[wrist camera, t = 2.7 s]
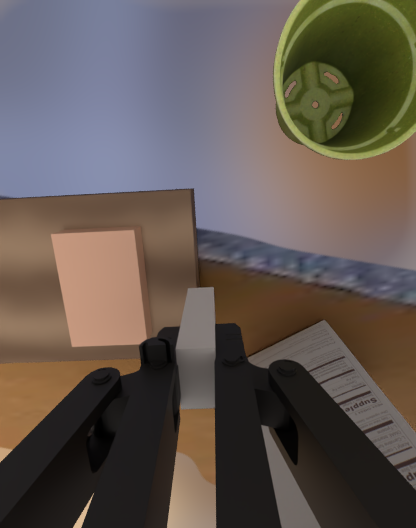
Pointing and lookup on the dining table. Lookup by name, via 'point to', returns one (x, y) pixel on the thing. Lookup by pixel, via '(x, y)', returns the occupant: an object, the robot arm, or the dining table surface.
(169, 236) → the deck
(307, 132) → the plant pot
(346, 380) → the supplement box
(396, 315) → the dining table surface
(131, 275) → the tile
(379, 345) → the dining table surface
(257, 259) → the dining table surface
